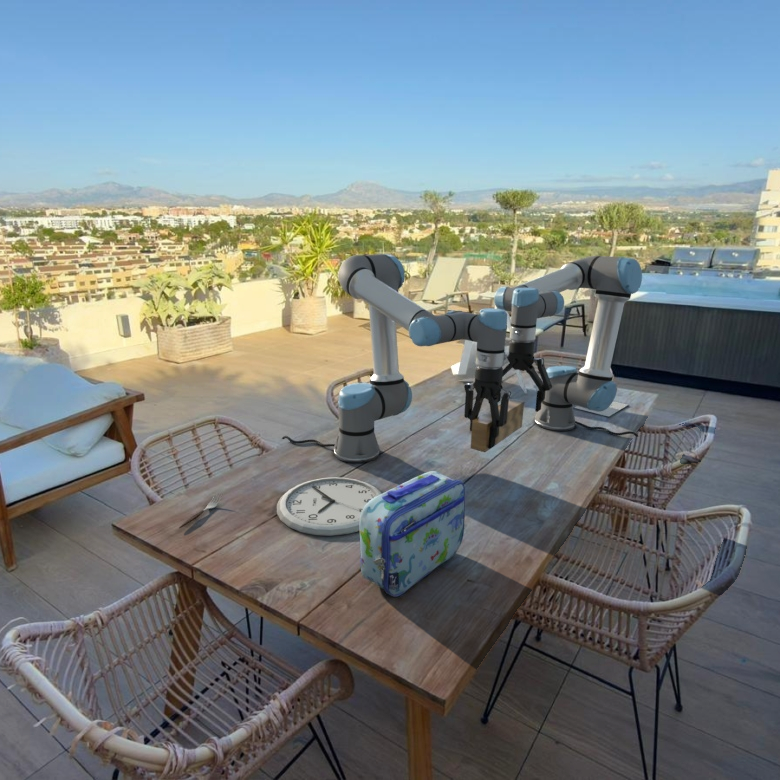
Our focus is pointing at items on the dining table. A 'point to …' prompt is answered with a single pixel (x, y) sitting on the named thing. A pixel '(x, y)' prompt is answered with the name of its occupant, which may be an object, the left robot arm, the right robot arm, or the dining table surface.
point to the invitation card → (609, 411)
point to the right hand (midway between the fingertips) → (517, 406)
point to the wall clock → (326, 505)
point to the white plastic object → (468, 364)
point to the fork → (209, 506)
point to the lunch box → (411, 531)
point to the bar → (513, 423)
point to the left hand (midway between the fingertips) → (483, 444)
